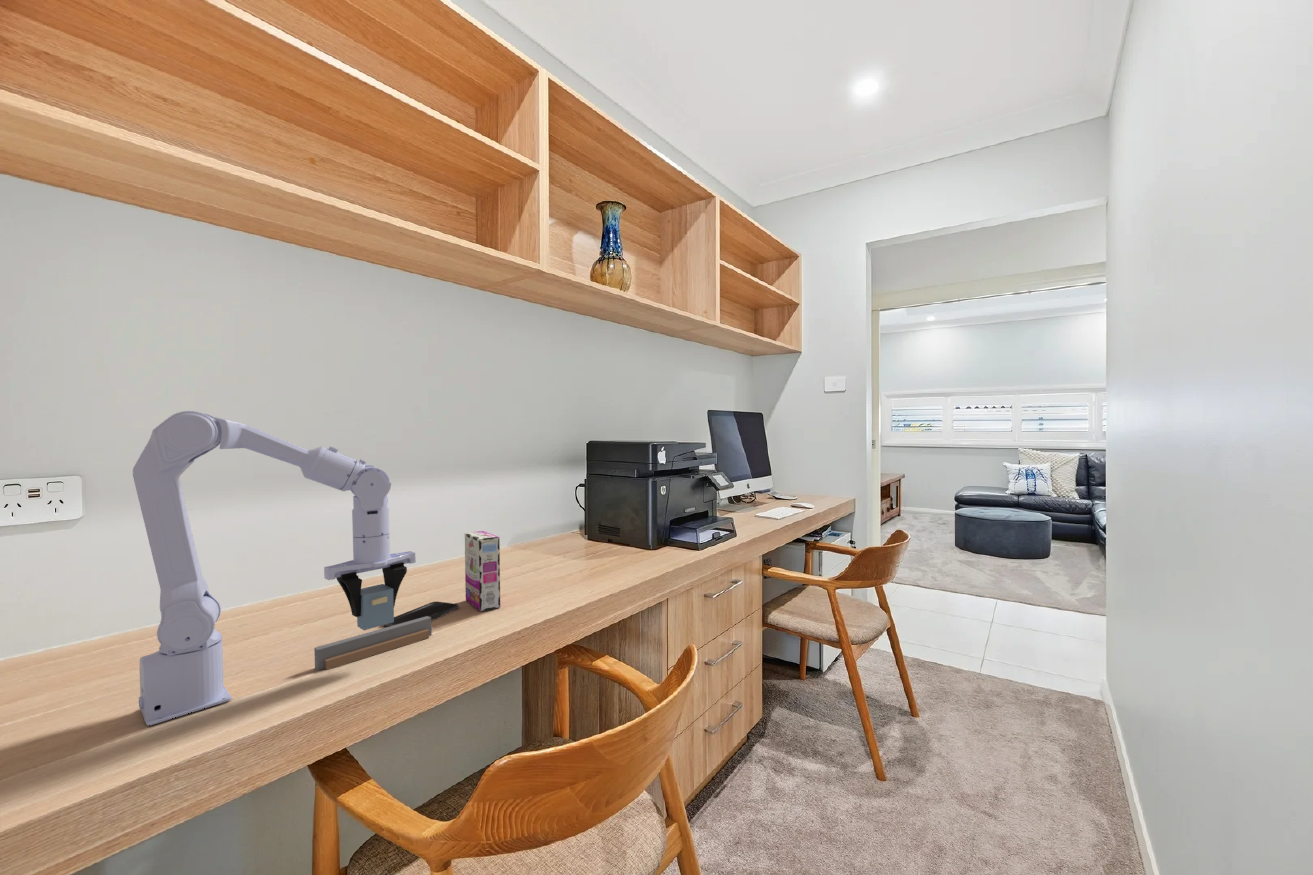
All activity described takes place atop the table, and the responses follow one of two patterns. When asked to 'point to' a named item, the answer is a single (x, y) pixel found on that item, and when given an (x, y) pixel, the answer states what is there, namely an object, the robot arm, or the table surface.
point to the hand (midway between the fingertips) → (373, 611)
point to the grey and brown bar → (371, 643)
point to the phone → (425, 612)
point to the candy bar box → (482, 570)
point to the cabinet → (376, 607)
